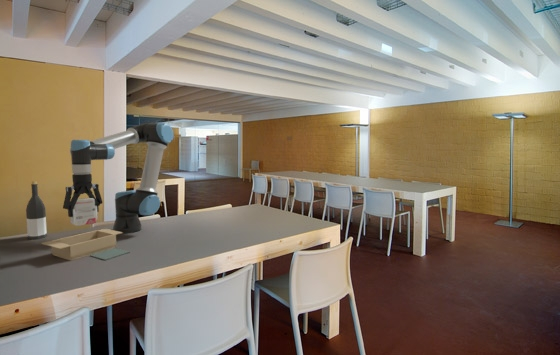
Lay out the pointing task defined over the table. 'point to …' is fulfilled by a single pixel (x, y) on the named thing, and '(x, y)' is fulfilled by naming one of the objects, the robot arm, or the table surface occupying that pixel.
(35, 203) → the wine bottle
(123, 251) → the mat
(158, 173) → the robot arm
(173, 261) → the table surface
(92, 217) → the ink box
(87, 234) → the tan shallow open box
